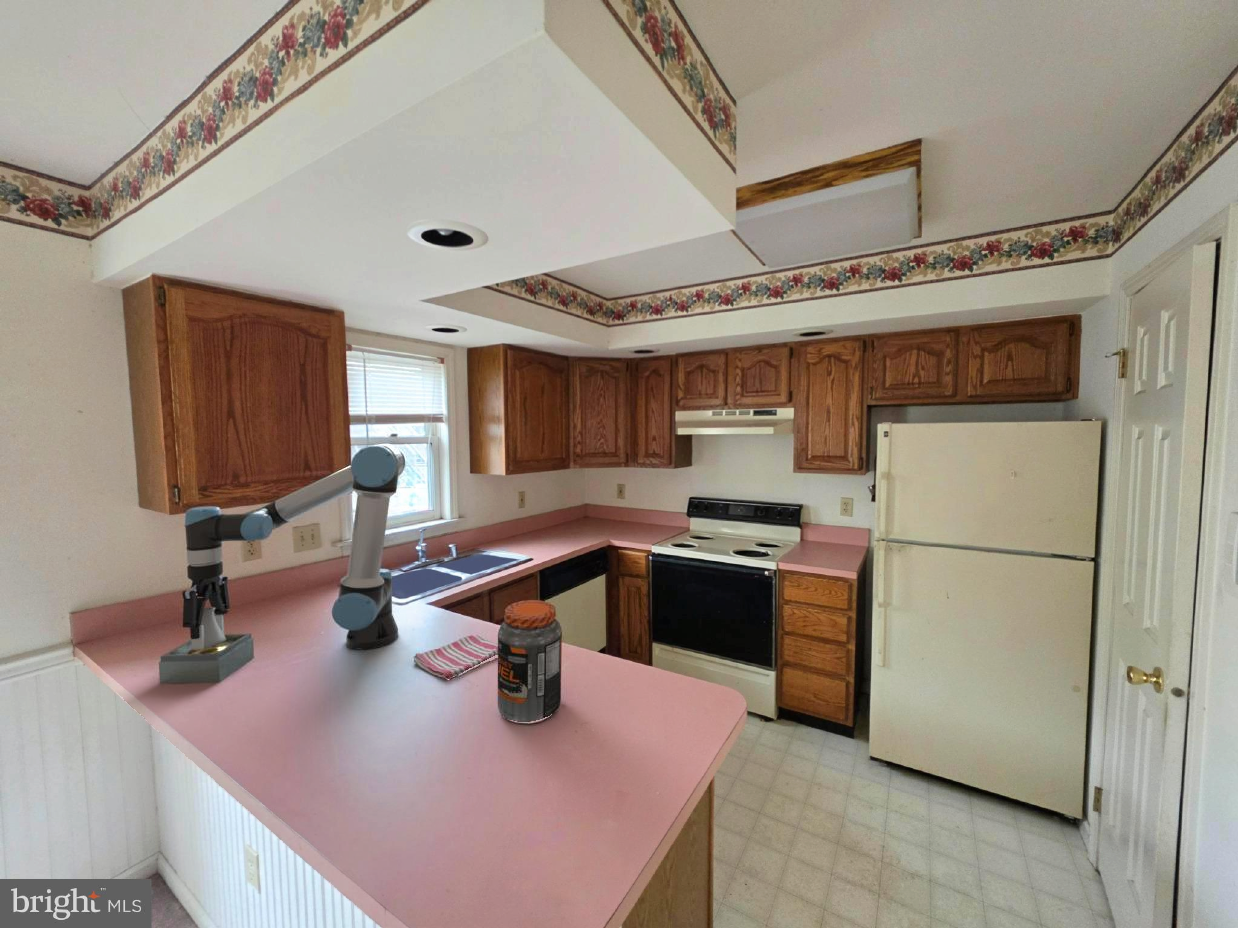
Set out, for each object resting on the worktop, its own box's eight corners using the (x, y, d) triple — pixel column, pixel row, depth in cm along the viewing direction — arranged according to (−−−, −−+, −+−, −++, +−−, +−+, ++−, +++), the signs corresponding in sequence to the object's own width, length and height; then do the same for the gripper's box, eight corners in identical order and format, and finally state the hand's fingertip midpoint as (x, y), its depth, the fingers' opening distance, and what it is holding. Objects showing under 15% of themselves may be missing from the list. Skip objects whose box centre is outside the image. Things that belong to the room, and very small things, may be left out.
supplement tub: (486, 705, 124) (486, 605, 122) (540, 685, 134) (541, 592, 132) (516, 736, 111) (517, 626, 110) (573, 711, 122) (575, 610, 120)
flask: (206, 650, 133) (204, 614, 132) (185, 647, 134) (183, 612, 134) (232, 639, 140) (230, 605, 139) (211, 636, 141) (210, 603, 141)
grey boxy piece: (253, 657, 145) (253, 633, 145) (219, 682, 131) (218, 655, 131) (200, 658, 144) (198, 634, 143) (159, 683, 130) (158, 656, 130)
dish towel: (411, 665, 144) (411, 654, 144) (476, 639, 163) (476, 628, 162) (445, 684, 134) (445, 672, 134) (511, 653, 153) (511, 643, 152)
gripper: (216, 553, 145) (219, 628, 147) (160, 573, 125) (164, 659, 127) (243, 553, 146) (246, 628, 147) (191, 573, 126) (195, 659, 128)
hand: (208, 642), depth 137 cm, fingers closed on flask, 7 cm apart
